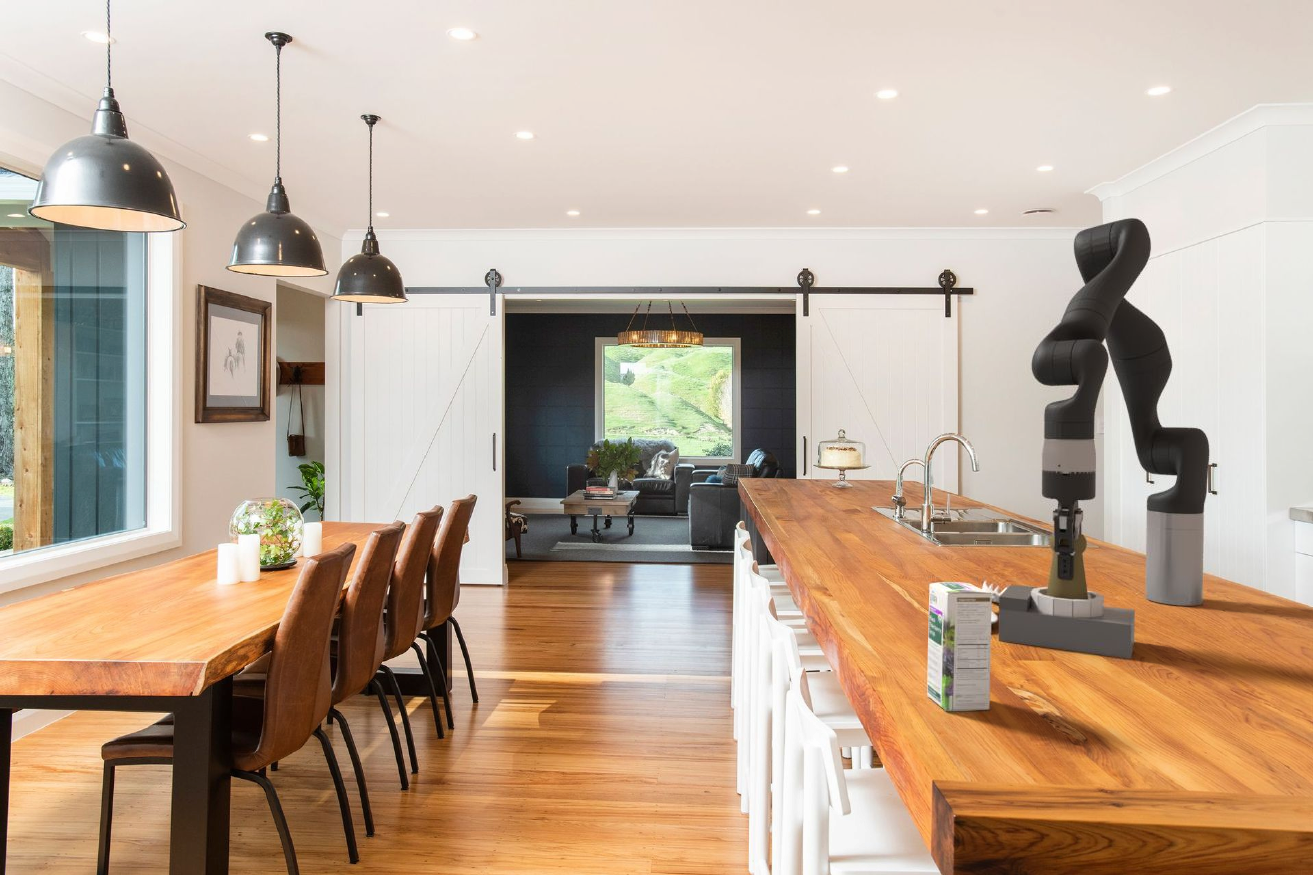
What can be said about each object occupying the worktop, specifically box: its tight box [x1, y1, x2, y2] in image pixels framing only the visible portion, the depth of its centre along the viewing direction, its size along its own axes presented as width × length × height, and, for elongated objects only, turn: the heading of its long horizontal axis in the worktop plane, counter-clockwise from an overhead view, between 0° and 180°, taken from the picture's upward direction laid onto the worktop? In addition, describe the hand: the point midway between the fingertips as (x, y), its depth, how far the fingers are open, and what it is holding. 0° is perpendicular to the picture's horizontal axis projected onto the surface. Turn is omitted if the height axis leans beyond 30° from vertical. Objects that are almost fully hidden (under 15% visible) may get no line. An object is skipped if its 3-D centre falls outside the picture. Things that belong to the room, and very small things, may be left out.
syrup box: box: [926, 581, 993, 712], centre depth 100 cm, size 6×6×14 cm
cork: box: [1046, 532, 1088, 600], centre depth 127 cm, size 6×6×11 cm
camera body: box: [998, 584, 1136, 660], centre depth 127 cm, size 11×18×8 cm, turn 57°
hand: (1067, 575), depth 127 cm, fingers closed on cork, 4 cm apart
